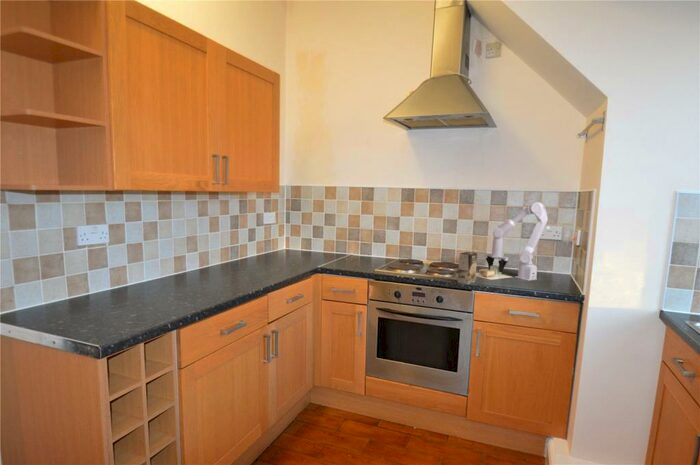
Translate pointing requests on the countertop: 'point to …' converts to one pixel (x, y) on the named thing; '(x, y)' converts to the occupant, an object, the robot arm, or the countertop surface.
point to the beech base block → (486, 273)
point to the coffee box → (467, 267)
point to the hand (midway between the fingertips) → (495, 270)
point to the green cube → (495, 269)
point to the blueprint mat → (495, 276)
